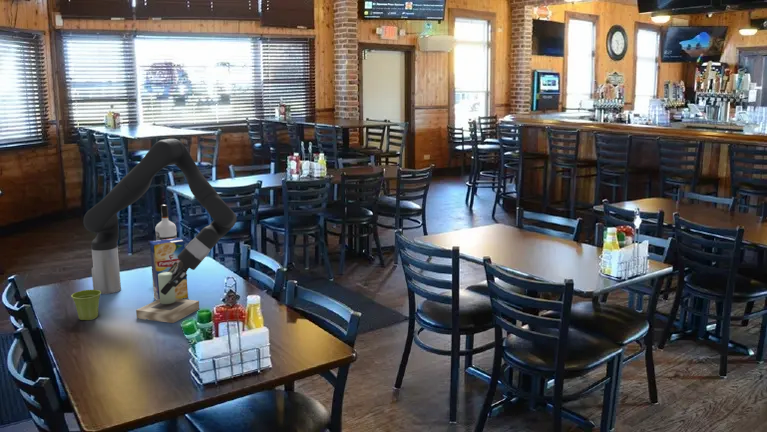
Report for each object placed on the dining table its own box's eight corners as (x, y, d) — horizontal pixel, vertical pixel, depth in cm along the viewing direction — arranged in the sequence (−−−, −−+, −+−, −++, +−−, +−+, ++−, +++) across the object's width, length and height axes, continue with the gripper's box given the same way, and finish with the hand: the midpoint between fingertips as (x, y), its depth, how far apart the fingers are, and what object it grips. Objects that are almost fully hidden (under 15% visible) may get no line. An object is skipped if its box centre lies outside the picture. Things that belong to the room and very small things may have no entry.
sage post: (156, 303, 233) (154, 275, 231) (166, 298, 238) (164, 271, 236) (169, 304, 232) (167, 276, 230) (178, 300, 237) (176, 272, 235)
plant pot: (108, 317, 233) (105, 293, 231) (80, 324, 226) (78, 299, 224) (96, 311, 239) (93, 287, 237) (69, 318, 232) (66, 294, 230)
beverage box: (188, 297, 253) (184, 240, 249) (158, 303, 247) (154, 244, 243) (182, 293, 259) (178, 237, 254) (153, 298, 253) (149, 241, 248)
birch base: (136, 318, 231) (136, 309, 231) (164, 304, 245) (163, 296, 244) (173, 323, 226) (172, 314, 226) (199, 308, 240) (198, 300, 240)
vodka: (183, 275, 282) (178, 205, 276) (161, 279, 277) (156, 207, 271) (176, 270, 290) (171, 201, 284) (154, 274, 284) (149, 204, 278)
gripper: (182, 242, 241) (150, 279, 238) (189, 251, 228) (155, 290, 225) (198, 255, 244) (166, 291, 241) (206, 264, 231) (173, 303, 229)
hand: (161, 290), depth 233 cm, fingers closed on sage post, 5 cm apart
